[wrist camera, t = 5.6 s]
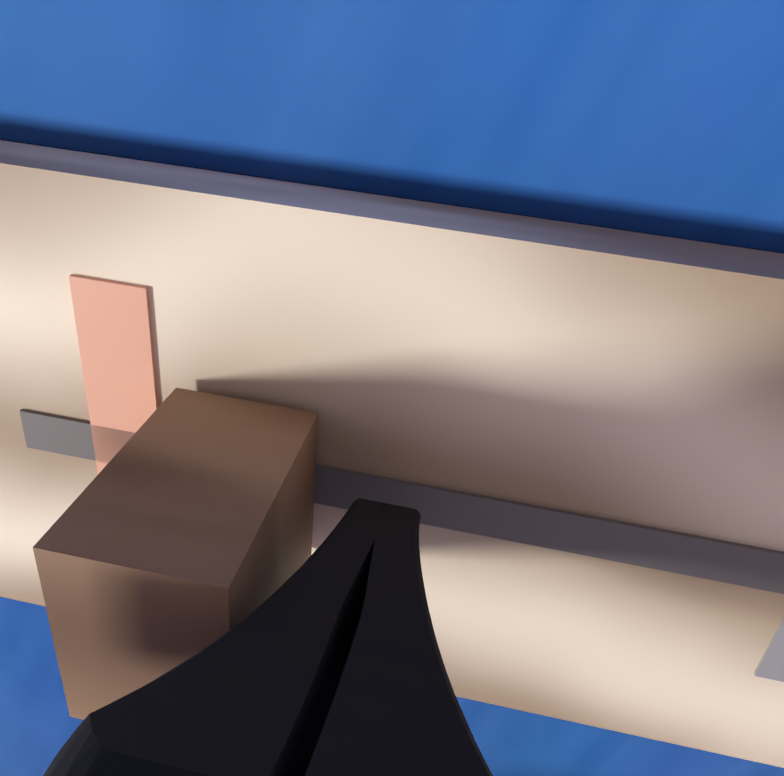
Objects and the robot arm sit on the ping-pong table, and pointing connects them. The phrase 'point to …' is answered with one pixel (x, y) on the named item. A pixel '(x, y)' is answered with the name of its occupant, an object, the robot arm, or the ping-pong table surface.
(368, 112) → the ping-pong table surface
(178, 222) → the fader panel
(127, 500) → the fader knob
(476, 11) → the ping-pong table surface
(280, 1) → the ping-pong table surface
